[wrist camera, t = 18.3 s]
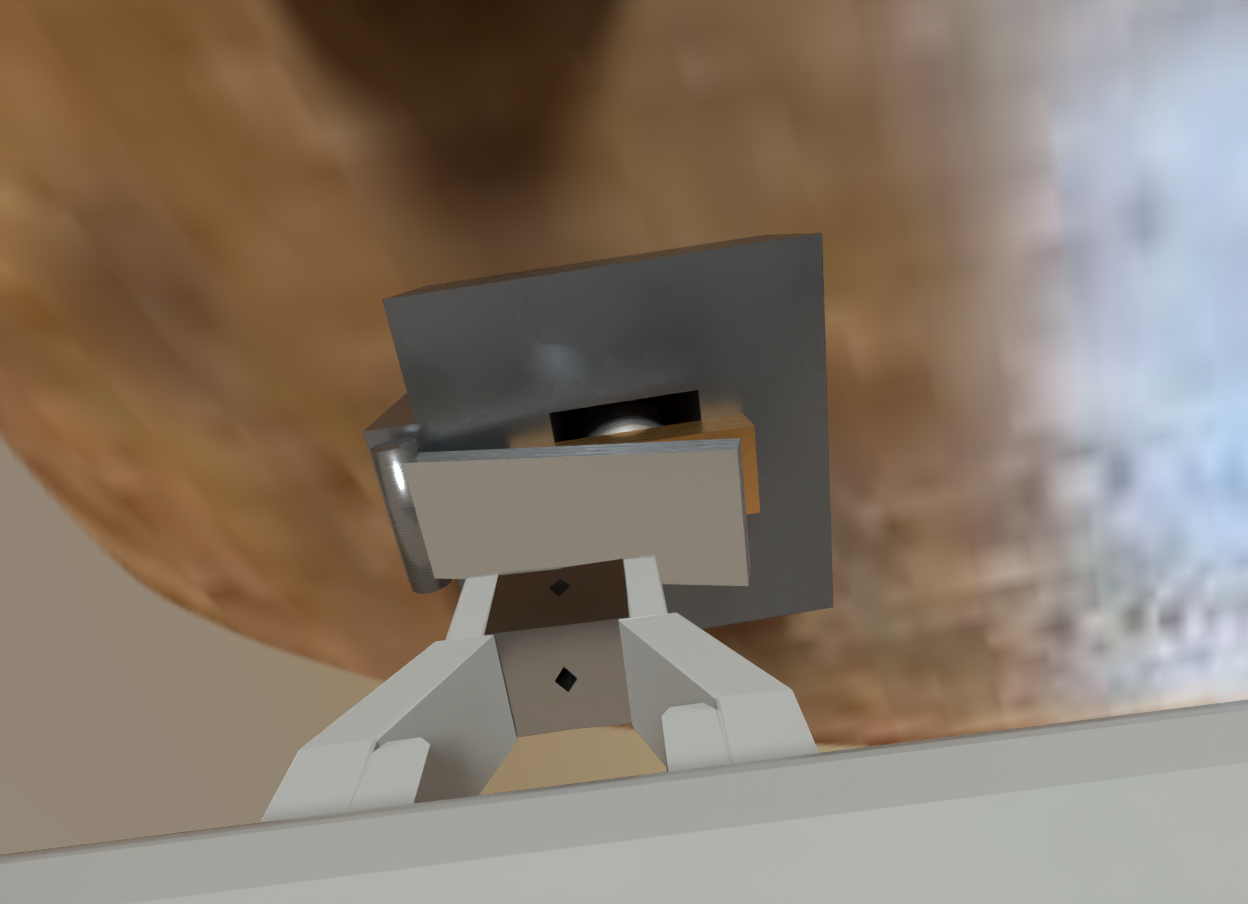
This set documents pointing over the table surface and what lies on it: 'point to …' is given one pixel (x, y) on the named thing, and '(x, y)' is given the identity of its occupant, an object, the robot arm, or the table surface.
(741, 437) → the brown wooden block
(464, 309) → the block
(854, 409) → the table surface
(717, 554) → the latch bar
